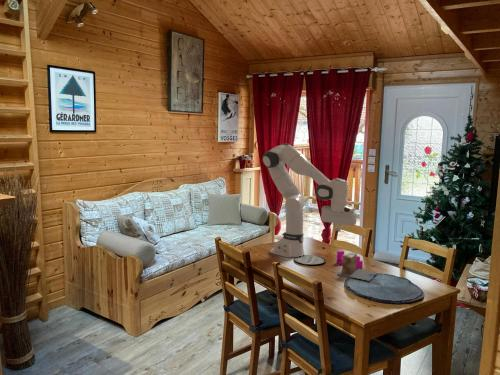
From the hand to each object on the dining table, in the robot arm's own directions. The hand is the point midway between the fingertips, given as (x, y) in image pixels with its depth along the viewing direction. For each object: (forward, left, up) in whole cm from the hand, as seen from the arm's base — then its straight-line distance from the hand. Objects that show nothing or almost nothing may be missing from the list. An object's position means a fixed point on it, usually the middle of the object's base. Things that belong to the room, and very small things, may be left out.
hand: (337, 231), depth 235 cm
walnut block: (+8, 0, -22) cm, 24 cm away
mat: (+13, 0, -23) cm, 26 cm away
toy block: (+3, +14, -24) cm, 28 cm away
